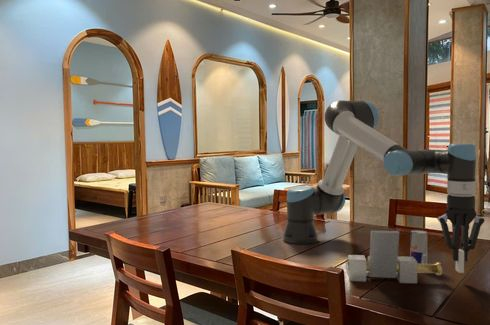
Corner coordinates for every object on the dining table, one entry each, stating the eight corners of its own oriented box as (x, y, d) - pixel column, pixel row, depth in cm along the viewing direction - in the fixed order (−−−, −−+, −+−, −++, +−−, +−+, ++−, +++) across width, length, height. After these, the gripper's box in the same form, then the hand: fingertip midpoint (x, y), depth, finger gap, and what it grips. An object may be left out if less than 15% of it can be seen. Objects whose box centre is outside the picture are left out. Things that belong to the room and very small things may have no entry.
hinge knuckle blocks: (349, 280, 126) (349, 259, 126) (346, 268, 138) (346, 249, 138) (417, 283, 123) (417, 261, 123) (407, 270, 135) (407, 250, 135)
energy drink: (407, 263, 142) (407, 230, 142) (421, 263, 143) (422, 229, 142) (414, 268, 137) (415, 233, 136) (430, 268, 137) (430, 233, 137)
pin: (365, 274, 126) (366, 262, 126) (364, 270, 130) (364, 258, 129) (442, 276, 123) (442, 264, 122) (438, 272, 126) (438, 260, 126)
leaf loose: (371, 232, 121) (369, 225, 126) (369, 277, 126) (367, 268, 130) (399, 232, 120) (396, 225, 124) (396, 278, 125) (392, 269, 129)
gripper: (442, 196, 119) (441, 274, 121) (489, 196, 117) (488, 276, 119) (434, 192, 127) (433, 266, 128) (478, 193, 125) (477, 268, 126)
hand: (459, 271), depth 123 cm, fingers closed
